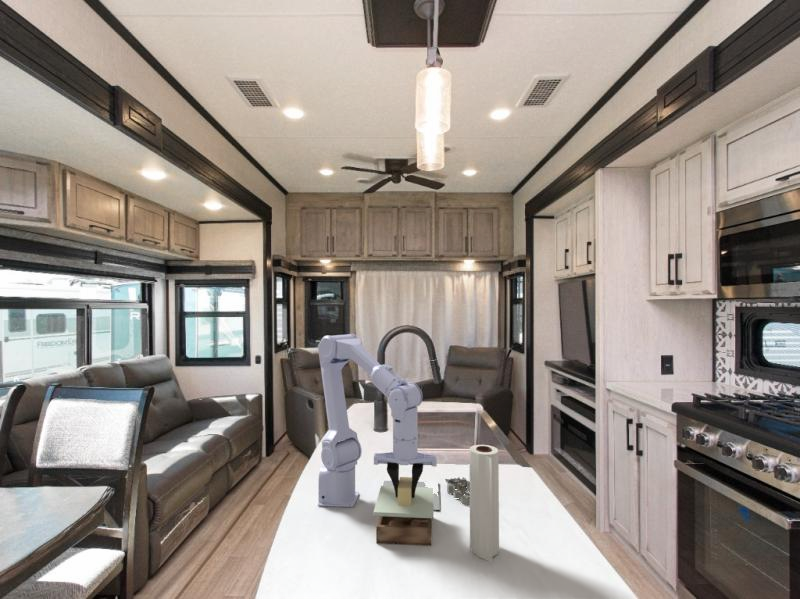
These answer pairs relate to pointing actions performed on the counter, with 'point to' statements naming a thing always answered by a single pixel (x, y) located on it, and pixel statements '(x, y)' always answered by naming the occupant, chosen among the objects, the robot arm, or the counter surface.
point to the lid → (404, 501)
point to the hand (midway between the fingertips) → (405, 495)
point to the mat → (421, 484)
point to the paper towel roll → (484, 501)
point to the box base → (404, 530)
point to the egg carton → (459, 489)
